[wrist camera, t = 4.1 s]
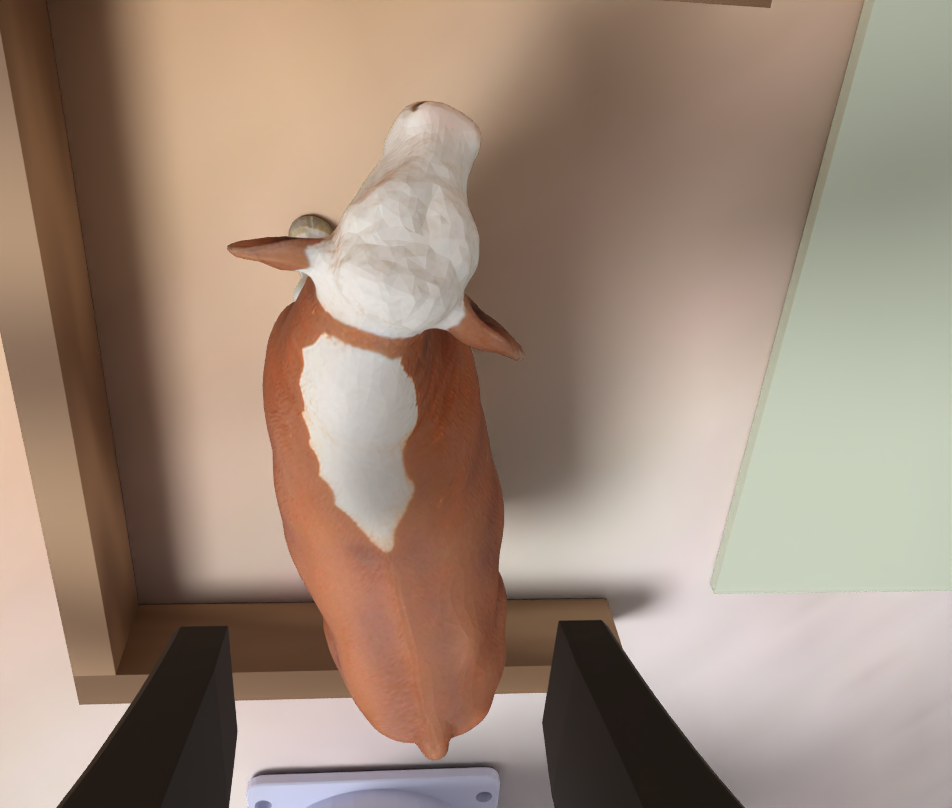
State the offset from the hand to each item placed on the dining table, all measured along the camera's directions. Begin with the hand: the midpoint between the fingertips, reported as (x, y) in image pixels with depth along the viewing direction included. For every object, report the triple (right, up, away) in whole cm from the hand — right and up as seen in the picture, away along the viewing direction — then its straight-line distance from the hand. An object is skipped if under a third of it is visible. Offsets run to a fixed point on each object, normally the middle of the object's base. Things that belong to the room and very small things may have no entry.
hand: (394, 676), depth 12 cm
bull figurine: (-1, +5, +9) cm, 11 cm away
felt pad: (+13, +6, +10) cm, 17 cm away
